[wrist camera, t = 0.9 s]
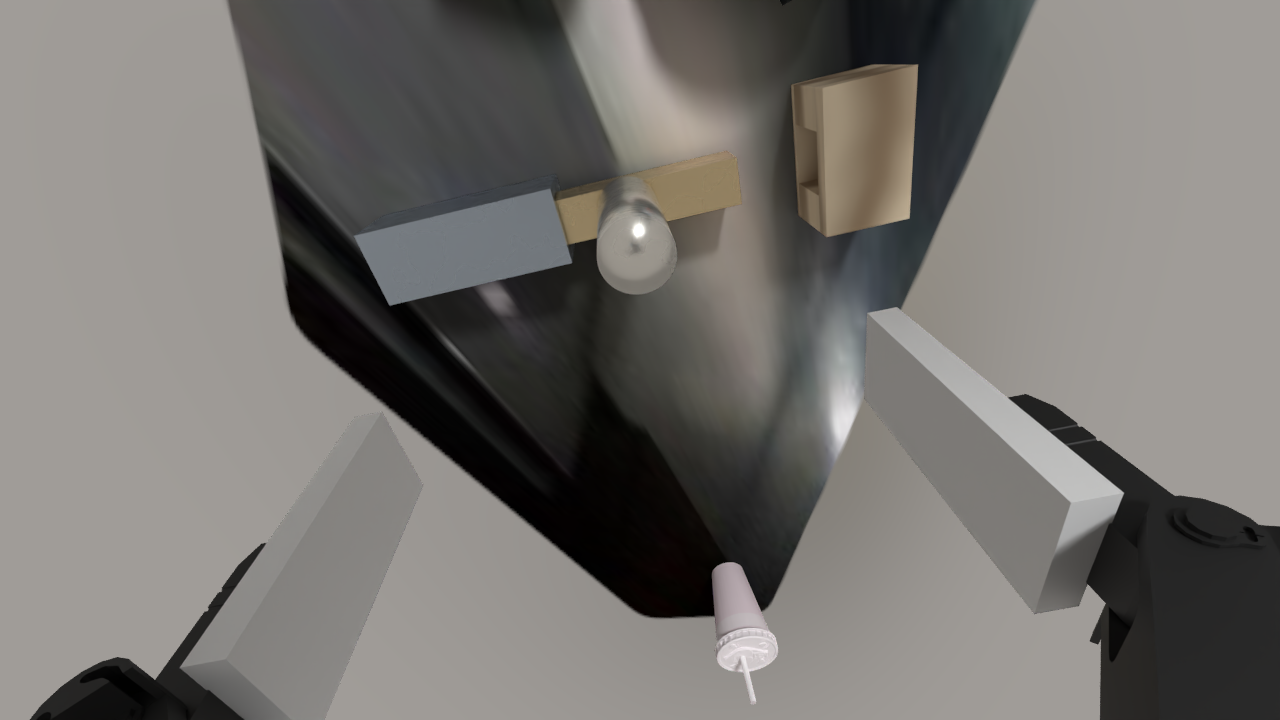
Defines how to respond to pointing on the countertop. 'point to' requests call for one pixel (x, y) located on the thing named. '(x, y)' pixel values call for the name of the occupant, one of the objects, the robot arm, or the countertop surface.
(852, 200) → the socket block
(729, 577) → the smoothie
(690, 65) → the countertop surface
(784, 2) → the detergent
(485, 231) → the sleeve
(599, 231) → the bar with upright post
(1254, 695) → the robot arm
